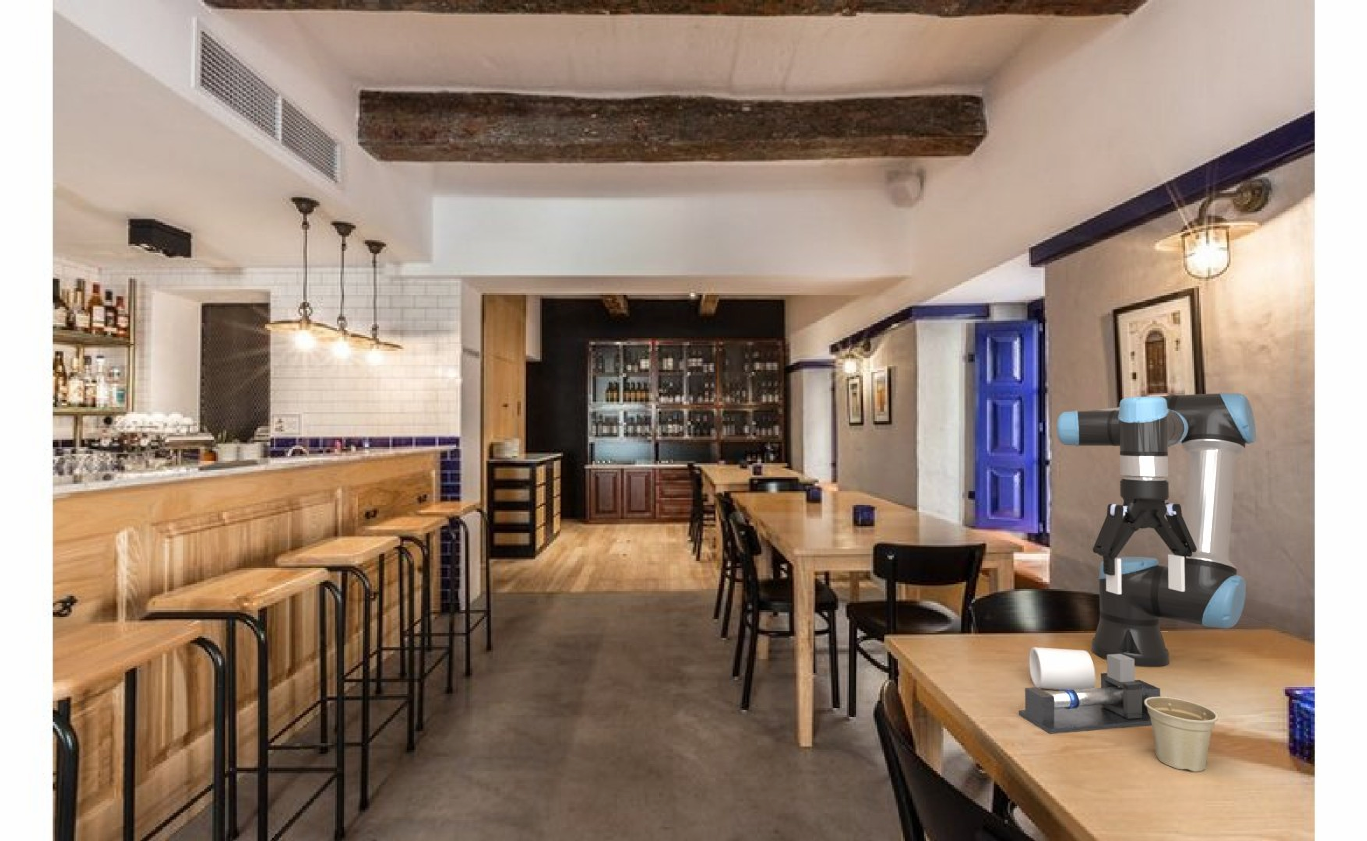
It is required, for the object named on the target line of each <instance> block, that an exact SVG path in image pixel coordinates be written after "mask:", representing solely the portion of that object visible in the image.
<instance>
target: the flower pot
mask: <svg viewBox="0 0 1367 841" xmlns="http://www.w3.org/2000/svg"><path fill="white" fill-rule="evenodd" d="M1144 704H1145V706H1146V707H1147V710H1148V714H1149V715H1150V718H1151V724H1152V725H1151V729H1152V734H1153V742H1154V750H1155V755H1156V757H1157V758H1158V760H1159V761H1160V762H1161V763H1163V764H1165V765H1167V766H1169V767H1172V768H1174V769H1177V770H1181V771H1183V770H1188V771H1190V772H1193V773H1194V772H1195V773H1196V772H1202V771H1204V770H1205V769H1206V766H1207V765H1206V764H1207V759H1208V752H1209V746H1210V741H1211V734H1212V729H1214V728H1215V722H1217V721H1218V720H1219V715H1218V714H1217V712H1215V711H1214V710H1212V709H1211V708H1209V707H1206V705H1205V706H1204V705H1202V704H1199V703H1197V702H1193V701H1189V700H1187V699H1185V700H1184V699H1180V698H1175V697H1169V696H1160V697H1150V698H1147V699H1145V701H1144Z"/></svg>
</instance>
